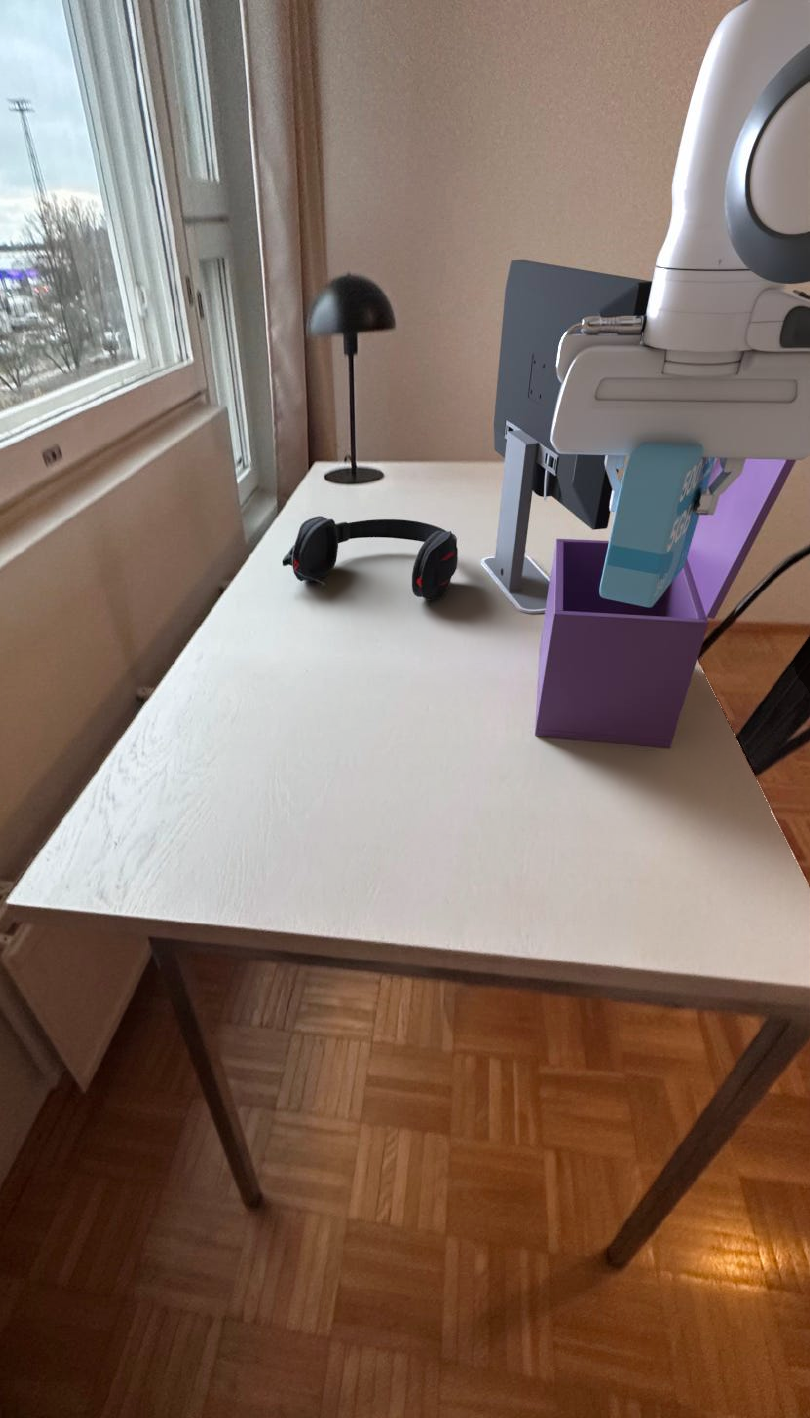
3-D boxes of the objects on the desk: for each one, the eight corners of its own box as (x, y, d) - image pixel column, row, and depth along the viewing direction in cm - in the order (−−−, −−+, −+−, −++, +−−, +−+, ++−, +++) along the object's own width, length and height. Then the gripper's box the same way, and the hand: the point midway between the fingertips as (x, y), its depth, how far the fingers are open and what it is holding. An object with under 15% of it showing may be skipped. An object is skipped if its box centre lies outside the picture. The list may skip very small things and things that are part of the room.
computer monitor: (601, 635, 103) (675, 280, 77) (543, 642, 102) (598, 285, 76) (507, 536, 134) (537, 258, 107) (462, 540, 133) (481, 261, 107)
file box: (534, 735, 85) (554, 613, 75) (539, 648, 101) (556, 538, 91) (670, 748, 82) (708, 622, 72) (653, 656, 98) (683, 543, 88)
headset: (284, 620, 111) (279, 562, 105) (286, 555, 131) (282, 504, 125) (470, 610, 111) (474, 552, 105) (443, 546, 131) (446, 495, 125)
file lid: (793, 446, 61) (802, 448, 61) (746, 392, 77) (754, 393, 77) (706, 617, 72) (714, 619, 72) (680, 539, 88) (687, 540, 88)
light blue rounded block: (647, 614, 62) (687, 460, 54) (595, 603, 64) (626, 453, 56) (685, 566, 70) (724, 425, 62) (637, 558, 72) (670, 420, 64)
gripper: (563, 322, 53) (535, 518, 62) (874, 320, 50) (797, 529, 59) (562, 311, 58) (537, 495, 67) (847, 308, 54) (779, 504, 63)
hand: (660, 511), depth 63 cm, fingers closed on light blue rounded block, 5 cm apart
